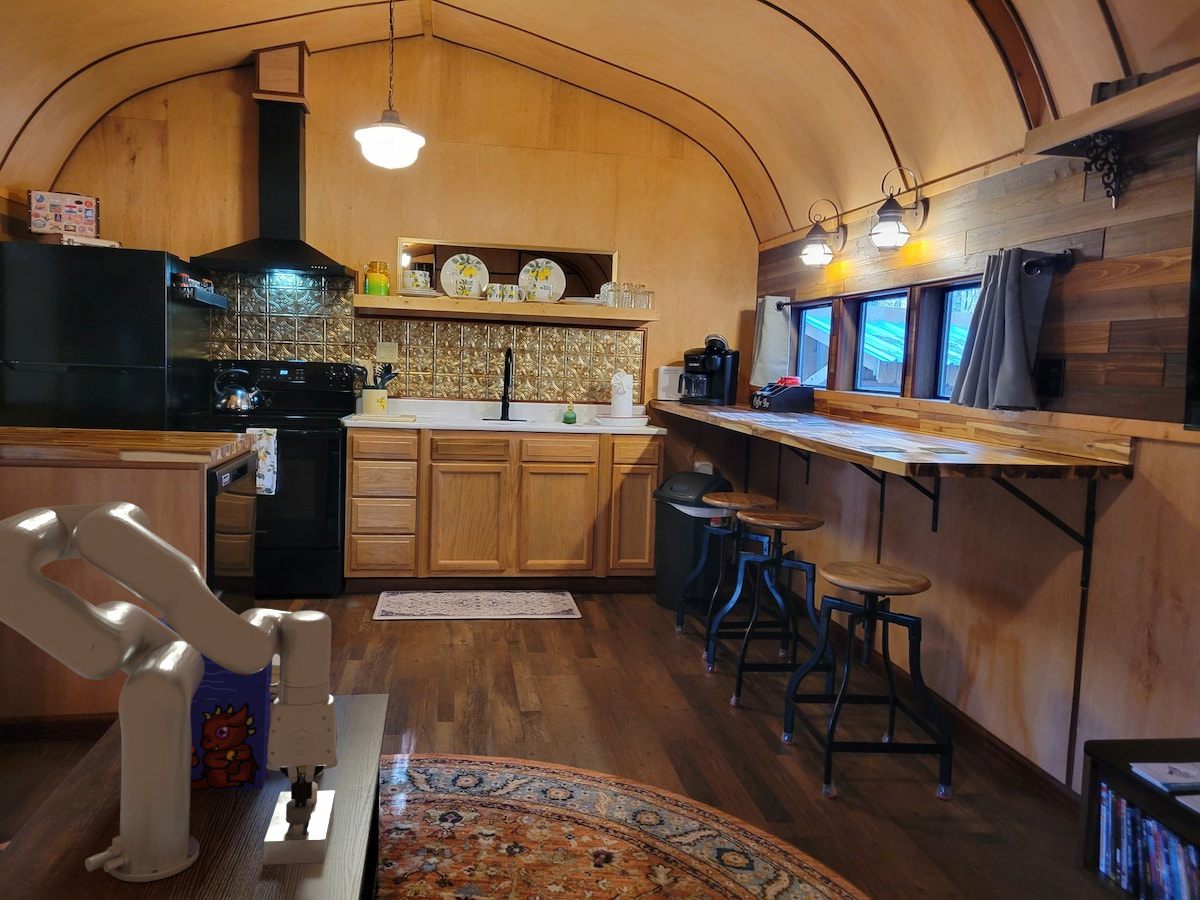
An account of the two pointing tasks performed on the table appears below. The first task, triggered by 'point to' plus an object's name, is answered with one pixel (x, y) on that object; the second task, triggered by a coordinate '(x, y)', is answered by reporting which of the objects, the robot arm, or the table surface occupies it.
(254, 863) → the table surface
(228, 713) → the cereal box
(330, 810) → the mount
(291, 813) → the charcoal knob
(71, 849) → the table surface
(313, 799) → the cream knob
